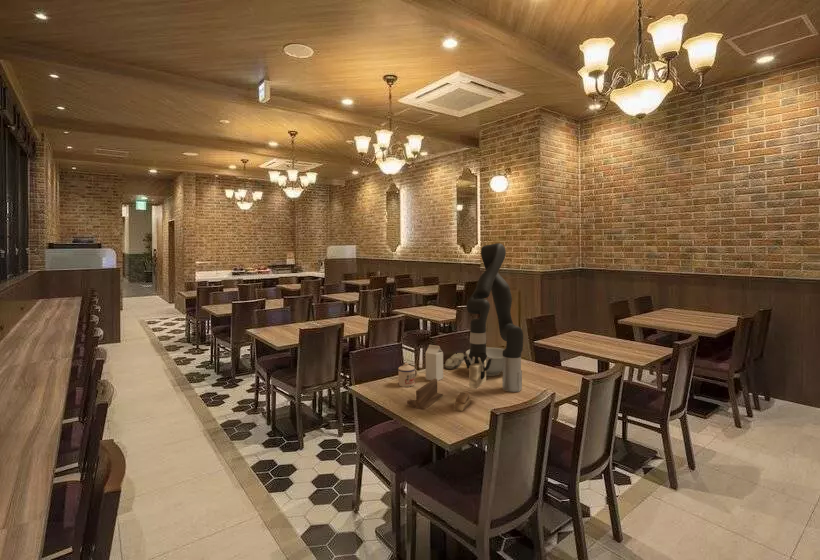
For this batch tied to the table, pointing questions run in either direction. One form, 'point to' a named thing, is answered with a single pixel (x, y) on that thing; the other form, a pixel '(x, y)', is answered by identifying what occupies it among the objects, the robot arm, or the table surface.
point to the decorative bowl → (496, 362)
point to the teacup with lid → (407, 375)
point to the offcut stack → (462, 401)
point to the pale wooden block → (476, 375)
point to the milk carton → (434, 363)
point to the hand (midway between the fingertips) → (477, 378)
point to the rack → (425, 396)
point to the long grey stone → (454, 361)
